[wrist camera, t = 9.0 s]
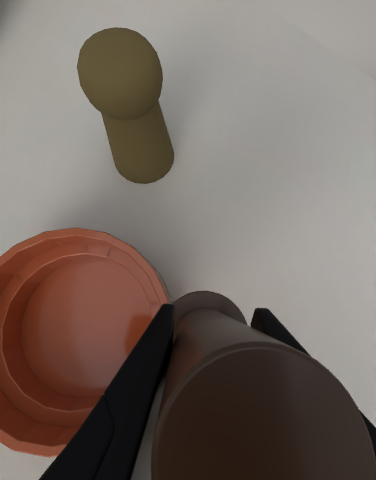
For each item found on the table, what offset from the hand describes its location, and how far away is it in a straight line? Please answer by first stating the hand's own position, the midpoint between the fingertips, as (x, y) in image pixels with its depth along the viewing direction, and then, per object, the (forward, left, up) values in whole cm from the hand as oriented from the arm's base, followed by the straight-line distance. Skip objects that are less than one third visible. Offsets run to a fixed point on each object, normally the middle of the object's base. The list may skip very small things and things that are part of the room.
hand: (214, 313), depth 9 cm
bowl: (-6, +7, -13) cm, 16 cm away
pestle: (-1, -1, -7) cm, 7 cm away
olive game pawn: (+10, +11, -14) cm, 20 cm away
